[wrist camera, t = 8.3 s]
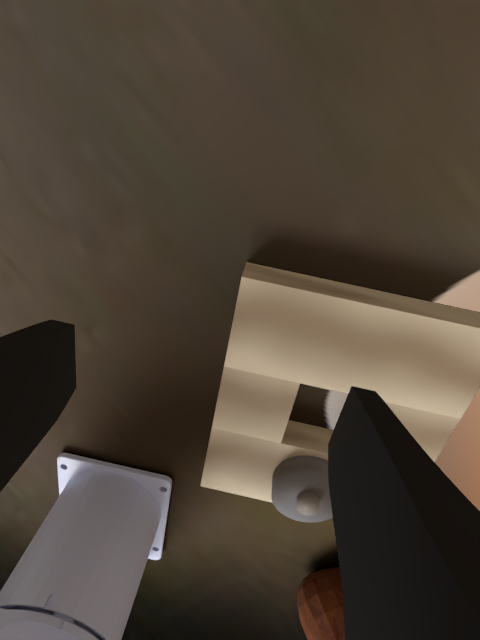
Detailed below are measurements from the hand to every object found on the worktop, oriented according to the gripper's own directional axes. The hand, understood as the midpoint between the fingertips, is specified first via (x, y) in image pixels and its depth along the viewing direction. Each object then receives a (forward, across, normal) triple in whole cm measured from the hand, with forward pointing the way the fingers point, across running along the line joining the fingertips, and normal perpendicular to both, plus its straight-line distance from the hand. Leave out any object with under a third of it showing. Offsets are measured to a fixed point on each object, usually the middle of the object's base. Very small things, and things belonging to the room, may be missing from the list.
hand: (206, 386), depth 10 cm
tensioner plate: (+10, -6, +7) cm, 14 cm away
